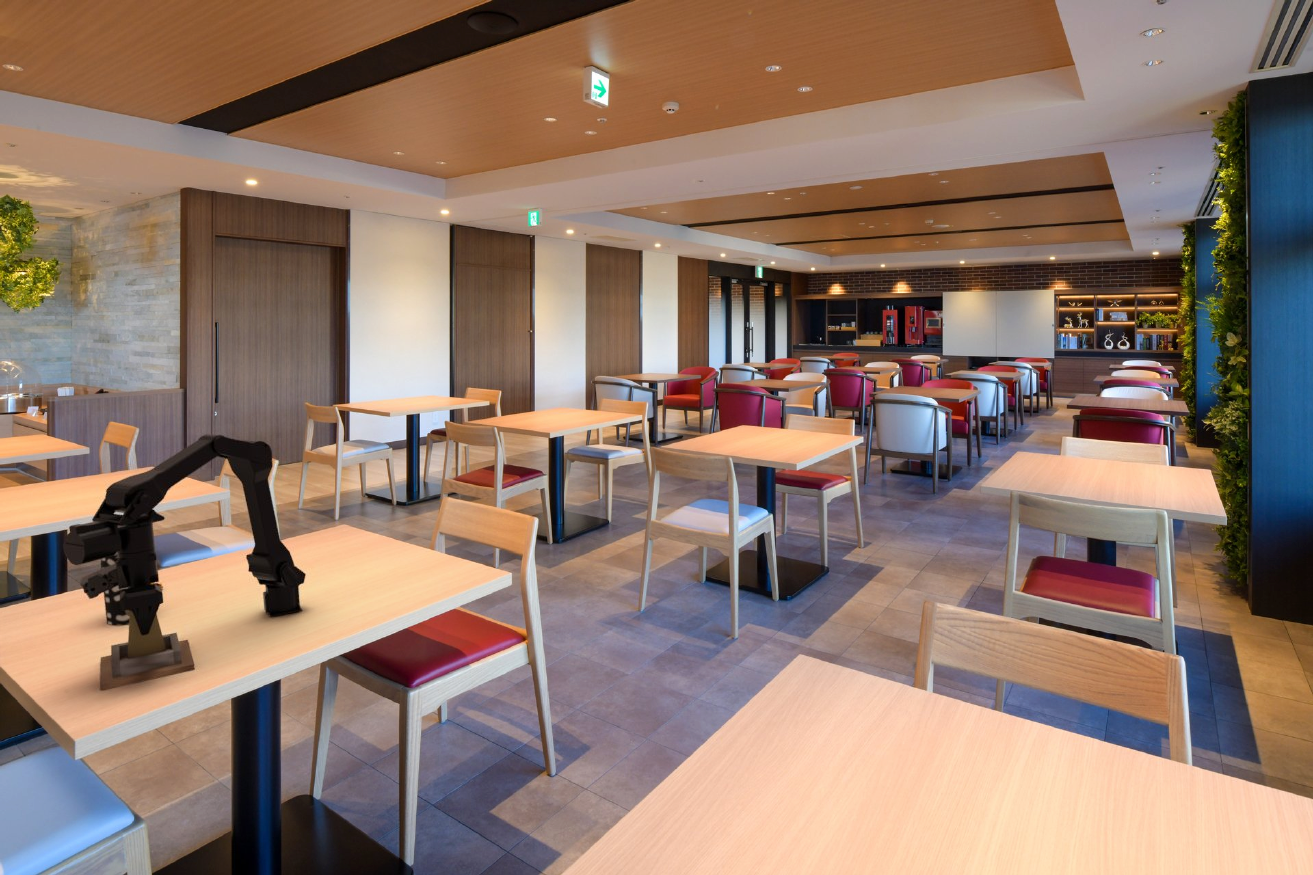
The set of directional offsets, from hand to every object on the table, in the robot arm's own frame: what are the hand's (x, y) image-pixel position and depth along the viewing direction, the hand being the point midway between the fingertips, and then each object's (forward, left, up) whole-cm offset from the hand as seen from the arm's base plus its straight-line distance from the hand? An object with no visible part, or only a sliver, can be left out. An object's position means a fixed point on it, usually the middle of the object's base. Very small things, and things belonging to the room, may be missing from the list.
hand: (144, 630), depth 138 cm
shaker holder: (0, 0, -7) cm, 7 cm away
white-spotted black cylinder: (+2, -31, -7) cm, 32 cm away
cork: (0, 0, -5) cm, 5 cm away
